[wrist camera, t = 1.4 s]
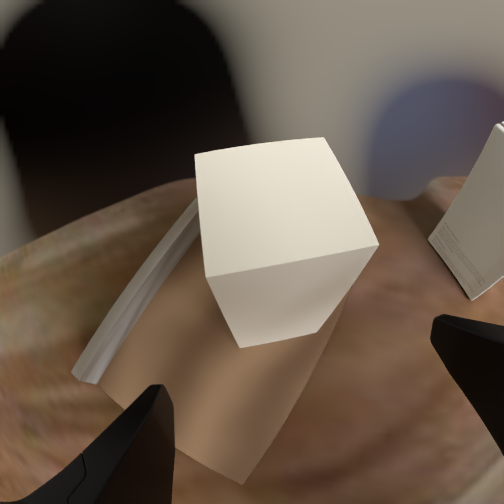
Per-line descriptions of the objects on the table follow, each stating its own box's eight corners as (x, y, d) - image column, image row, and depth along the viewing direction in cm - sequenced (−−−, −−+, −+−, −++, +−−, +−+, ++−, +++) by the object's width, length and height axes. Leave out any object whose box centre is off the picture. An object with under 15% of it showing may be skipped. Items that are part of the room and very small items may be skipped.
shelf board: (352, 279, 22) (366, 259, 19) (243, 480, 14) (239, 496, 11) (208, 213, 26) (201, 187, 23) (94, 376, 18) (69, 370, 15)
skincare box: (492, 275, 21) (578, 190, 8) (468, 305, 20) (575, 214, 7) (450, 216, 25) (515, 114, 12) (421, 237, 24) (497, 118, 11)
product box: (316, 332, 19) (379, 244, 8) (239, 348, 18) (205, 277, 8) (297, 261, 22) (321, 133, 11) (227, 274, 21) (194, 150, 11)
